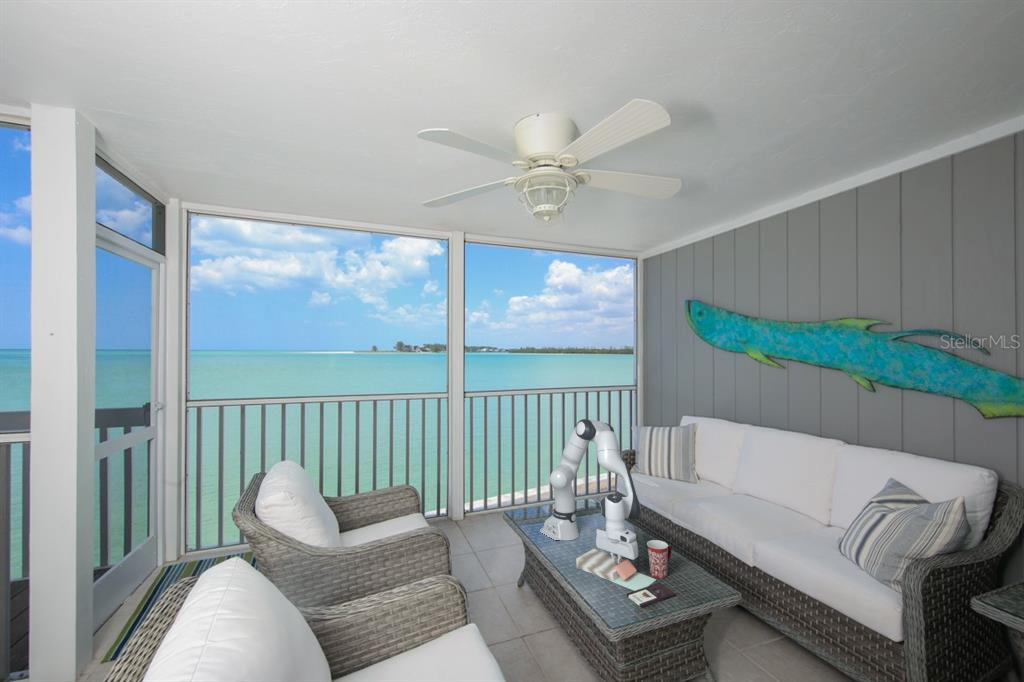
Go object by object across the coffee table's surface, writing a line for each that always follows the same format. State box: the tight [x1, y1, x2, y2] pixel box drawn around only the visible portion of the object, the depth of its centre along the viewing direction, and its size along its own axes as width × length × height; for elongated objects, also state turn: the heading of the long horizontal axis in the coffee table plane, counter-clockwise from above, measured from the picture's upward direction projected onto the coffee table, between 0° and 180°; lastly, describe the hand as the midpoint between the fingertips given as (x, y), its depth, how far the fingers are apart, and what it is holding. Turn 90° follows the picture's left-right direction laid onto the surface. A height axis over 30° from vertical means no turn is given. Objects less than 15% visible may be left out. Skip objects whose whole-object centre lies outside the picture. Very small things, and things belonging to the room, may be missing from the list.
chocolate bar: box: [626, 582, 677, 609], centre depth 179 cm, size 9×1×18 cm
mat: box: [610, 571, 657, 591], centre depth 192 cm, size 14×14×1 cm
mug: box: [646, 539, 673, 579], centre depth 198 cm, size 13×9×14 cm
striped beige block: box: [575, 548, 626, 582], centre depth 203 cm, size 20×14×4 cm
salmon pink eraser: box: [615, 558, 637, 580], centre depth 195 cm, size 6×9×2 cm
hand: (616, 562), depth 198 cm, fingers closed
